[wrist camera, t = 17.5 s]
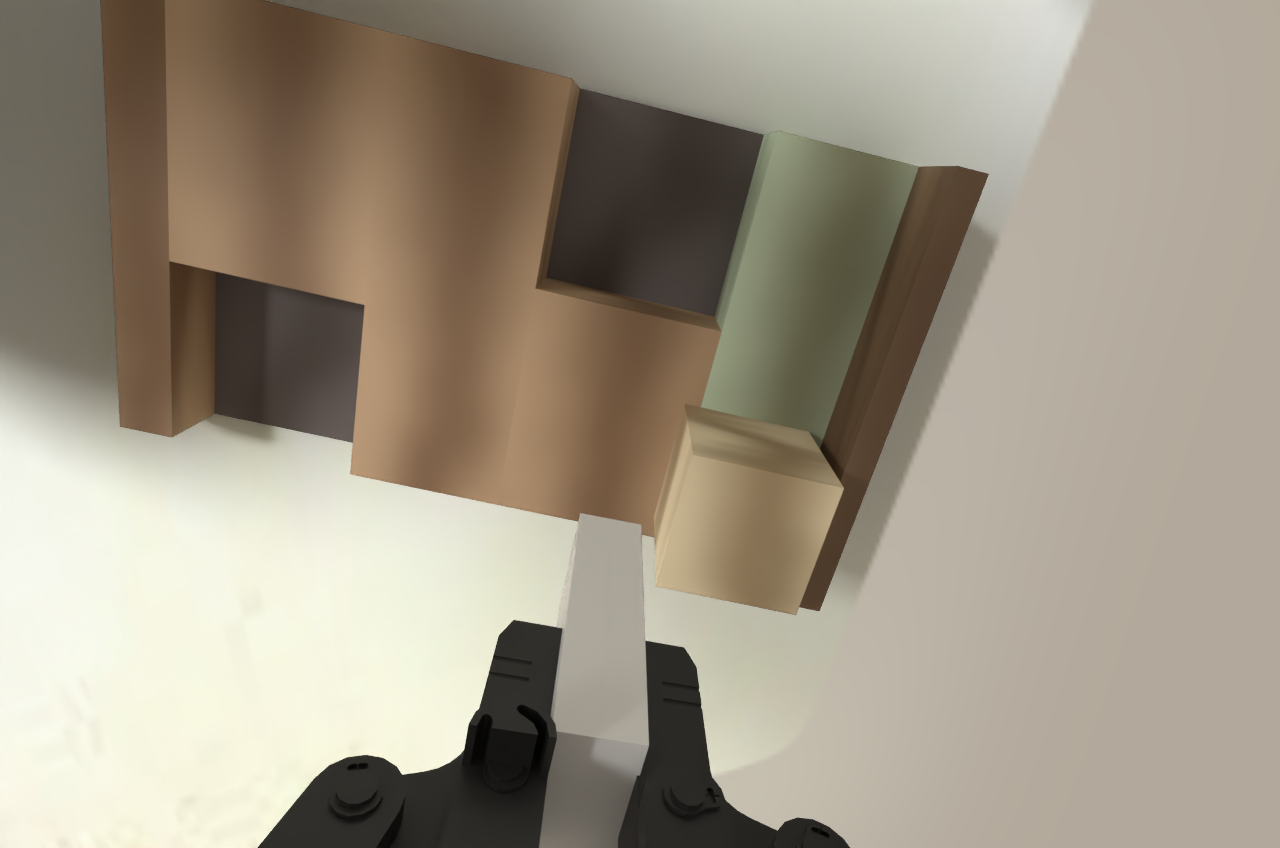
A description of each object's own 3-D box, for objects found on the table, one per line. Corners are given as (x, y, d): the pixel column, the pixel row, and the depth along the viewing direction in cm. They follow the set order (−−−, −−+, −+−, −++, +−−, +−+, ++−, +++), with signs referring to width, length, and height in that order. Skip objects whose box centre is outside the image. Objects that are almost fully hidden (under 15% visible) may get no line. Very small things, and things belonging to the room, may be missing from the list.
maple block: (654, 515, 28) (655, 585, 23) (684, 403, 26) (693, 454, 21) (770, 540, 28) (796, 615, 23) (808, 431, 26) (844, 488, 22)
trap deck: (170, 401, 29) (57, 457, 24) (163, -17, 24) (13, -75, 18) (788, 531, 31) (819, 611, 26) (913, 173, 26) (988, 174, 20)
